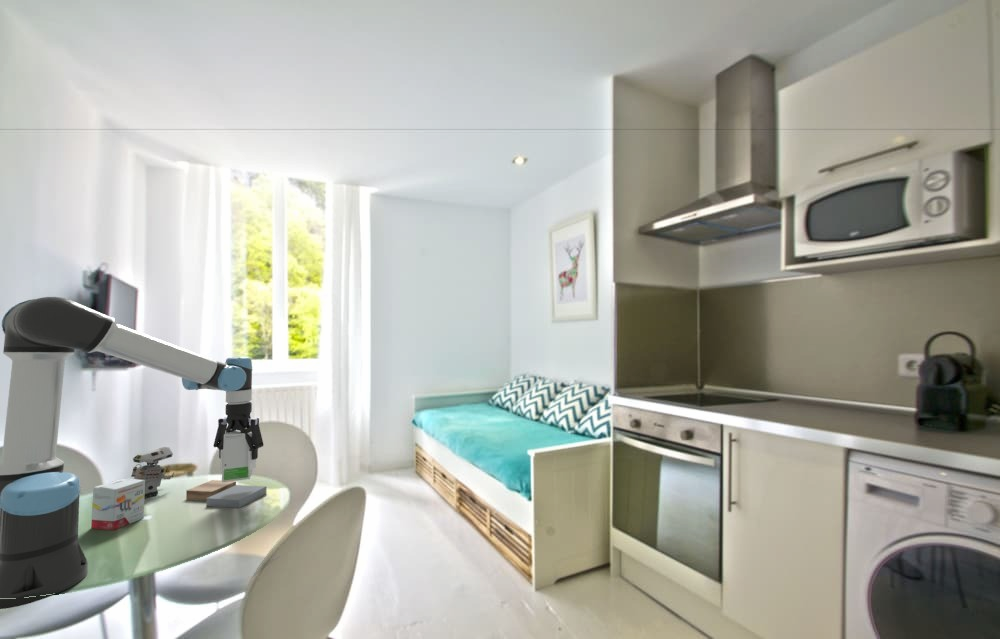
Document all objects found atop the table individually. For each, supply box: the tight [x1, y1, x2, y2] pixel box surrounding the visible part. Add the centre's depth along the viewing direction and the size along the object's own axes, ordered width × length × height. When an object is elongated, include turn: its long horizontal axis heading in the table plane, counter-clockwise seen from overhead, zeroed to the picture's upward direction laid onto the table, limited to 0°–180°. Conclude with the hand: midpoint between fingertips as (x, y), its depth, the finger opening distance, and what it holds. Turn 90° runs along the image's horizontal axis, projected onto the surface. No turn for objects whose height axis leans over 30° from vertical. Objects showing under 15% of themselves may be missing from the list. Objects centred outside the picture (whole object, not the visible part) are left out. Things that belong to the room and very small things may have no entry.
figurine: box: [130, 446, 175, 499], centre depth 144 cm, size 9×12×15 cm
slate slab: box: [206, 484, 267, 509], centre depth 136 cm, size 12×12×2 cm
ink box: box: [91, 477, 146, 531], centre depth 120 cm, size 9×9×12 cm
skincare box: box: [221, 430, 253, 482], centre depth 137 cm, size 8×7×16 cm
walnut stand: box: [185, 479, 237, 502], centre depth 141 cm, size 10×10×3 cm
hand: (238, 468), depth 137 cm, fingers closed on skincare box, 10 cm apart
